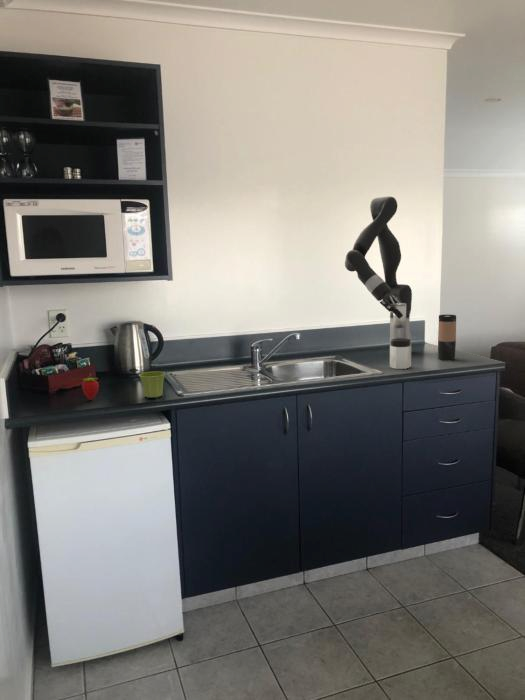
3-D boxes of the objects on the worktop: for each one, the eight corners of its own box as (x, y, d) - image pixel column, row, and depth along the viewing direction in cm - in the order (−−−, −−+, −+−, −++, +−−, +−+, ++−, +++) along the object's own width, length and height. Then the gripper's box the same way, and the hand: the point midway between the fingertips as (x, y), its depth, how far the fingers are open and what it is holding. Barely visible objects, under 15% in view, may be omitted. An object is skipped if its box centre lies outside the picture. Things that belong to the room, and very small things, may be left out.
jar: (386, 366, 244) (386, 339, 242) (401, 364, 247) (401, 337, 245) (398, 370, 236) (399, 341, 234) (414, 367, 239) (415, 340, 237)
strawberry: (99, 397, 207) (97, 370, 205) (100, 402, 200) (98, 374, 198) (82, 399, 205) (80, 372, 203) (83, 404, 198) (80, 376, 196)
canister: (400, 325, 242) (401, 302, 241) (408, 327, 237) (409, 303, 236) (390, 326, 240) (390, 303, 238) (398, 328, 235) (398, 304, 234)
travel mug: (457, 358, 256) (458, 314, 253) (452, 361, 250) (454, 316, 247) (440, 357, 261) (441, 314, 257) (435, 360, 254) (436, 316, 251)
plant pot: (142, 394, 208) (140, 371, 207) (168, 393, 209) (166, 370, 208) (138, 401, 199) (137, 377, 198) (165, 399, 200) (163, 376, 198)
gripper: (376, 282, 234) (403, 312, 229) (390, 280, 246) (416, 308, 240) (364, 294, 238) (391, 324, 233) (379, 292, 250) (404, 320, 245)
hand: (403, 316), depth 237 cm, fingers closed on canister, 5 cm apart
